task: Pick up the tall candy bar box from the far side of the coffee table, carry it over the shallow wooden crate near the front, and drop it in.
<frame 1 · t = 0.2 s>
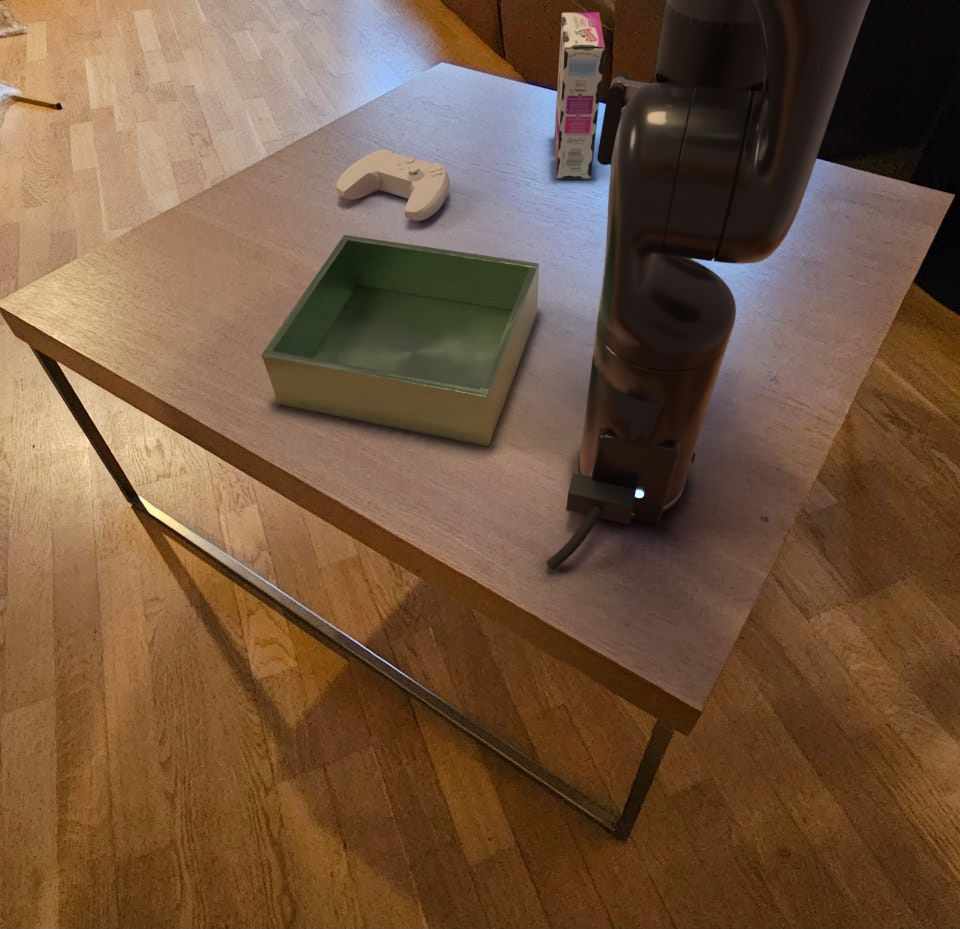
hand: (680, 218, 59), 17 cm above the table, tool pointing down, fingers open, 8 cm apart
candy bar box: (572, 160, 99), on the table
shallow wooden crate: (414, 357, 75), on the table
game controller: (399, 200, 94), on the table
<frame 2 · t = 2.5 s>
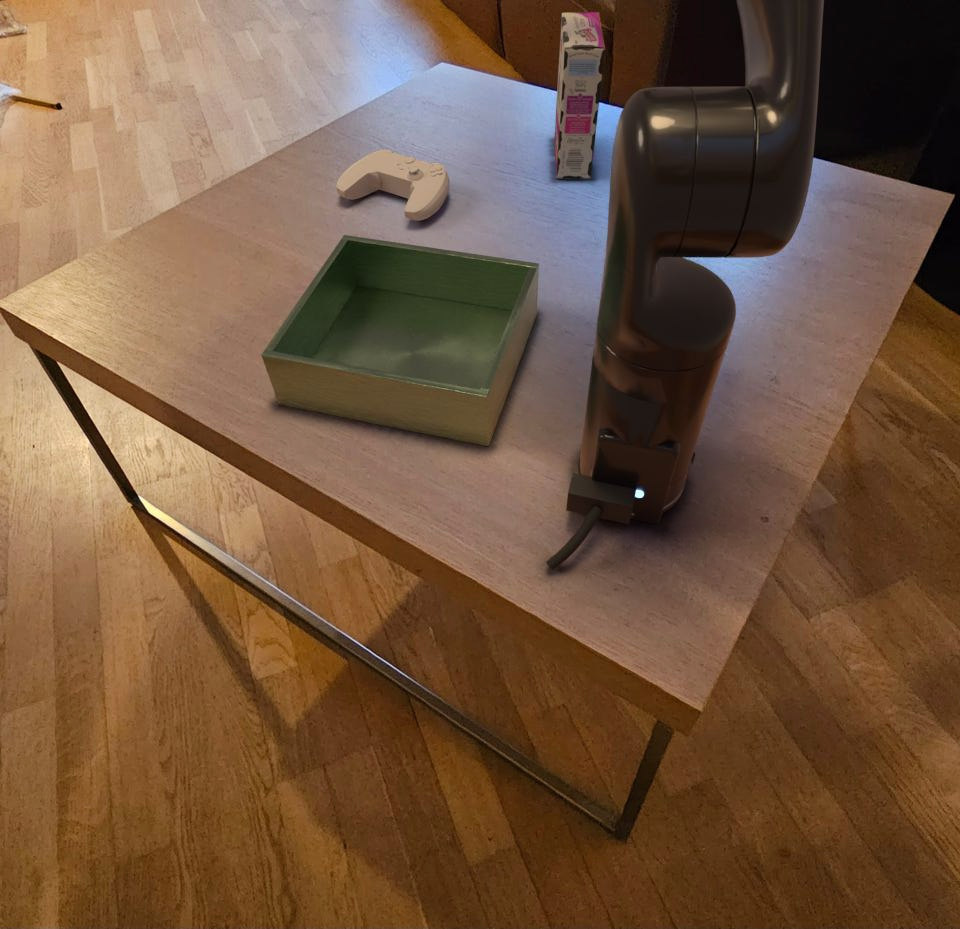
nothing on the table moved.
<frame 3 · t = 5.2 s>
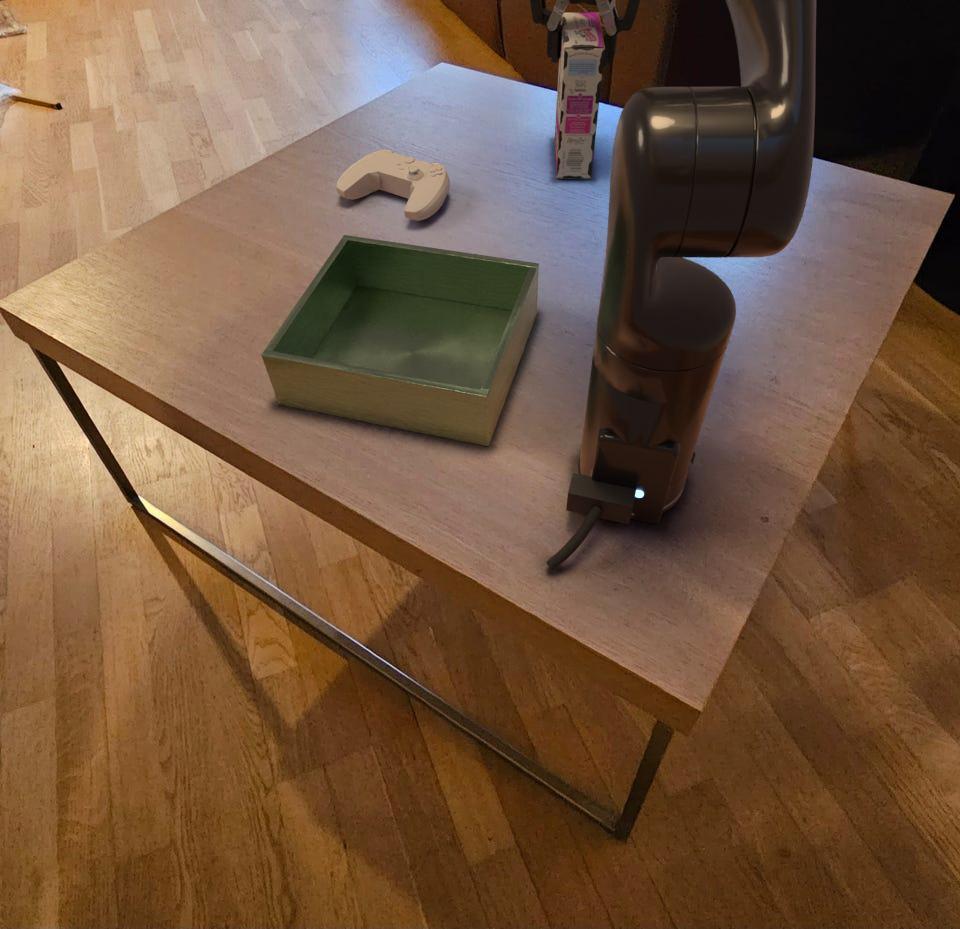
hand: (580, 62, 89), 13 cm above the table, tool pointing down, fingers closed on candy bar box, 5 cm apart
candy bar box: (573, 160, 99), on the table, touching gripper
everything else where it was.
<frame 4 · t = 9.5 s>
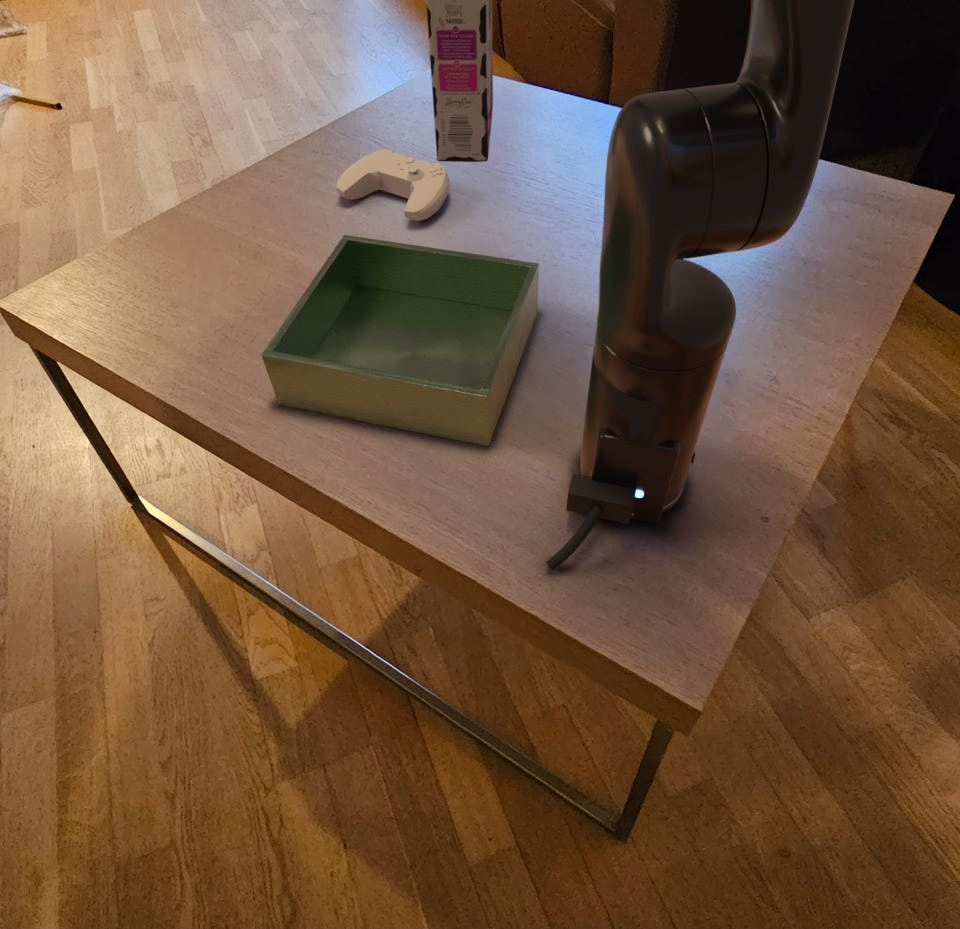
candy bar box: (467, 136, 69), point 17 cm above the table, touching gripper
everything else where it was.
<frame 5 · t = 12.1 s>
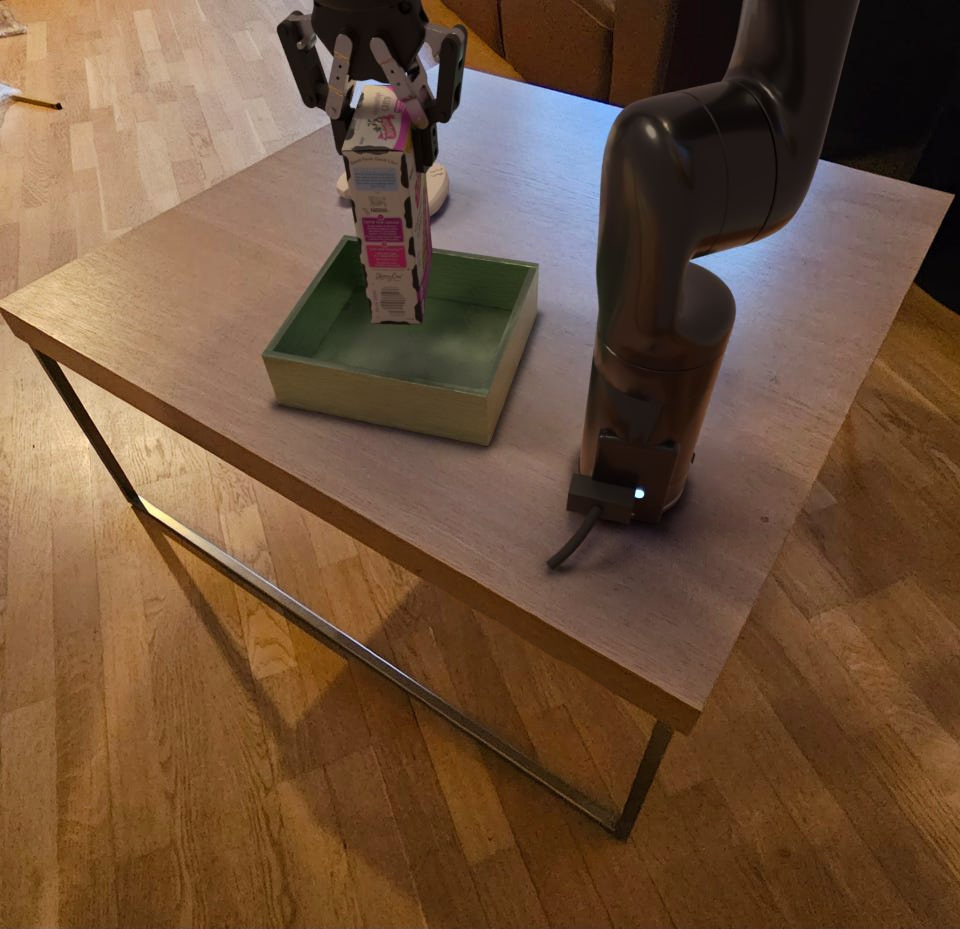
hand: (388, 162, 58), 21 cm above the table, tool pointing down, fingers closed on candy bar box, 5 cm apart
candy bar box: (405, 289, 68), point 9 cm above the table, touching gripper
everything else where it was.
when the fingers open (16 cm above the table, at t = 14.1 s): candy bar box drops 3 cm, resting on shallow wooden crate.
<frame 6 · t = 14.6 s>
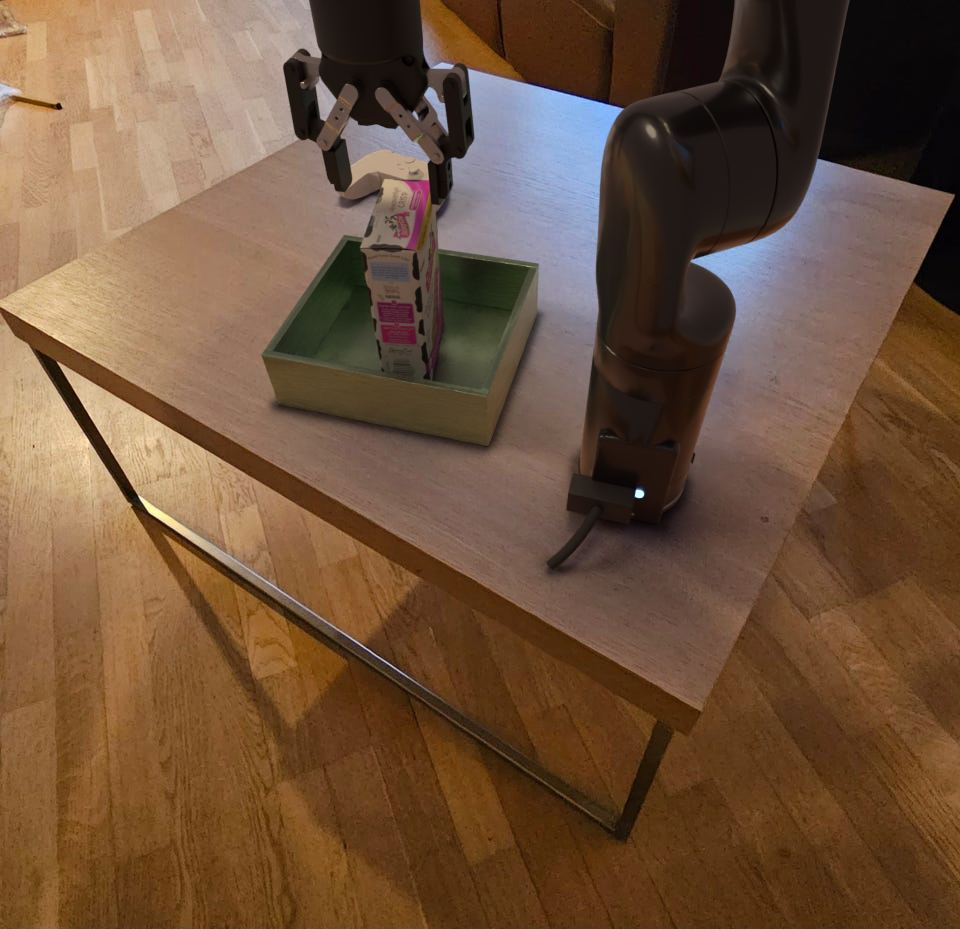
hand: (391, 193, 61), 19 cm above the table, tool pointing down, fingers open, 8 cm apart
candy bar box: (417, 355, 75), resting on shallow wooden crate
everything else where it was.
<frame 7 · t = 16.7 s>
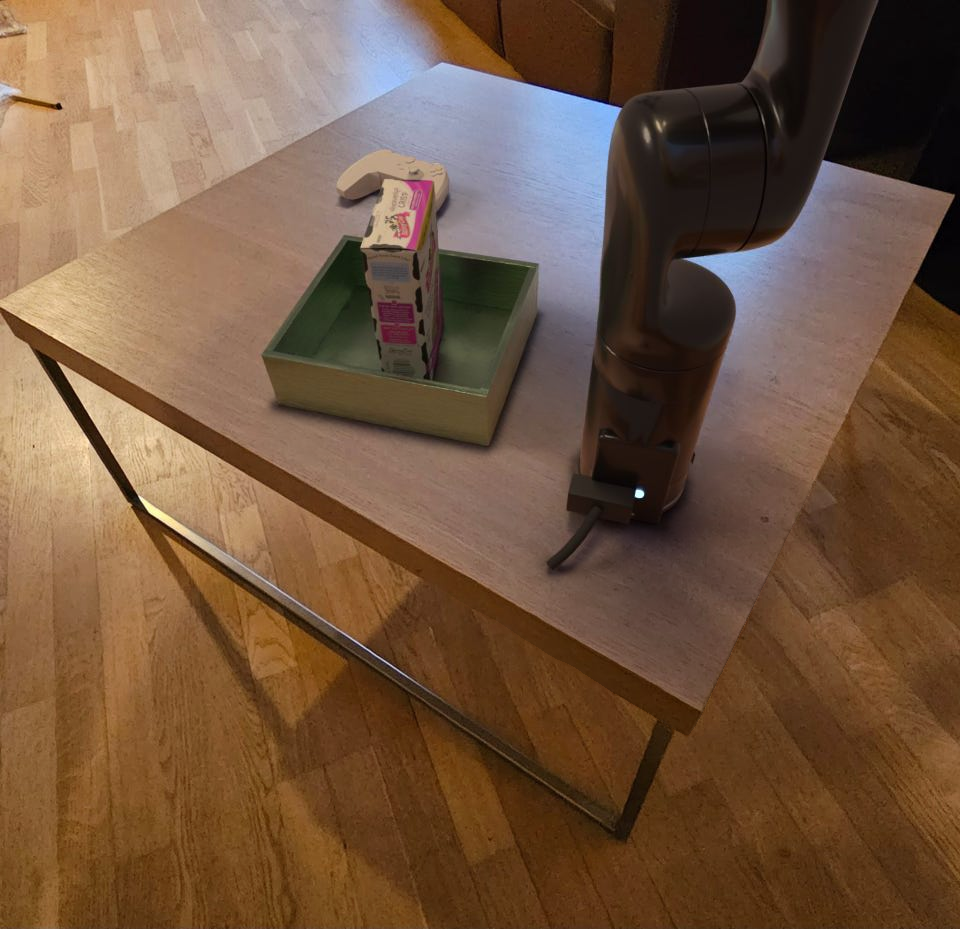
nothing on the table moved.
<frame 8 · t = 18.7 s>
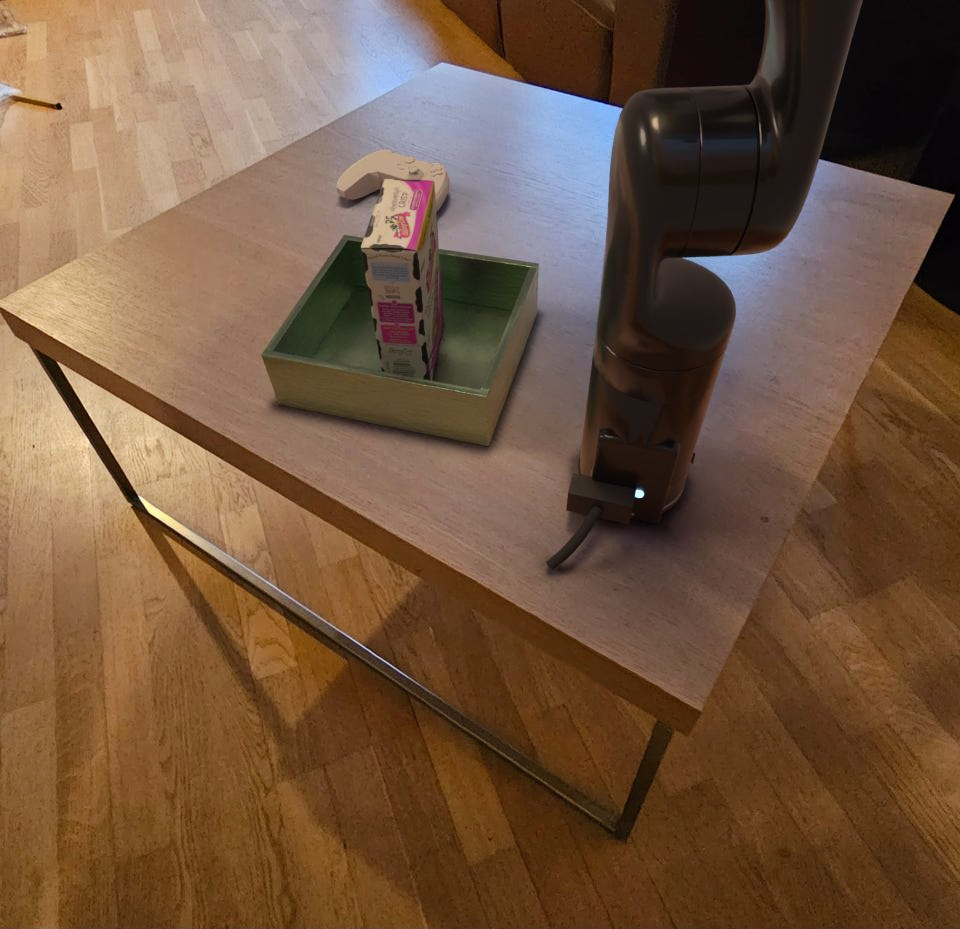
nothing on the table moved.
at the end: candy bar box inside the target area in the shallow wooden crate (0.4 cm from its centre), point 0.4 cm above the shallow wooden crate's base; the gripper is holding nothing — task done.
